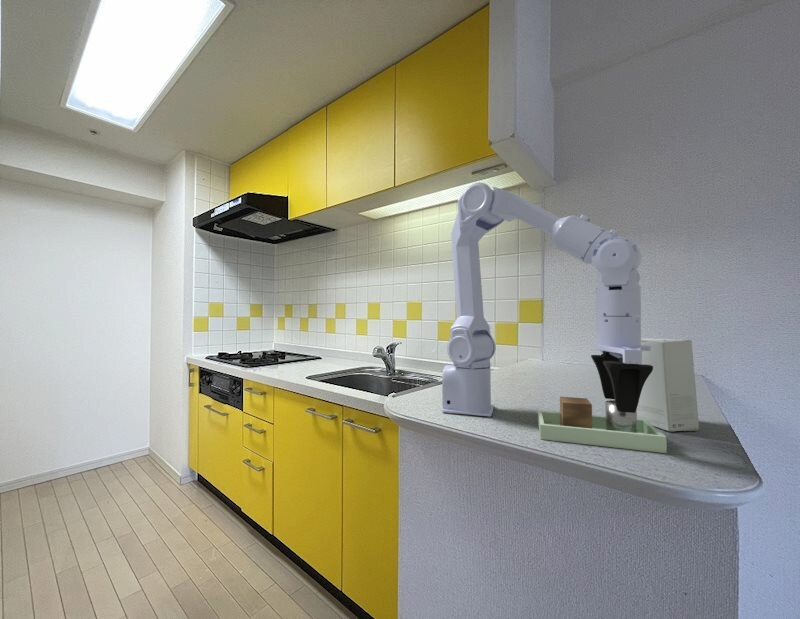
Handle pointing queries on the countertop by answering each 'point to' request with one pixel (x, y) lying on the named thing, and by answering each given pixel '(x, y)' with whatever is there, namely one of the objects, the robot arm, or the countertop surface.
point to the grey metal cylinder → (619, 419)
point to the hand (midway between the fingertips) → (618, 404)
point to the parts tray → (602, 434)
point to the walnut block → (575, 412)
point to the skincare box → (669, 386)
